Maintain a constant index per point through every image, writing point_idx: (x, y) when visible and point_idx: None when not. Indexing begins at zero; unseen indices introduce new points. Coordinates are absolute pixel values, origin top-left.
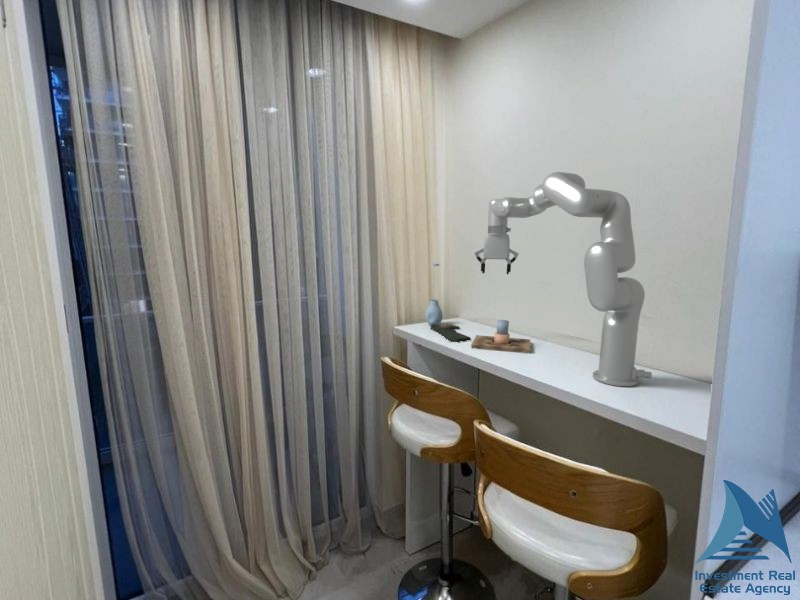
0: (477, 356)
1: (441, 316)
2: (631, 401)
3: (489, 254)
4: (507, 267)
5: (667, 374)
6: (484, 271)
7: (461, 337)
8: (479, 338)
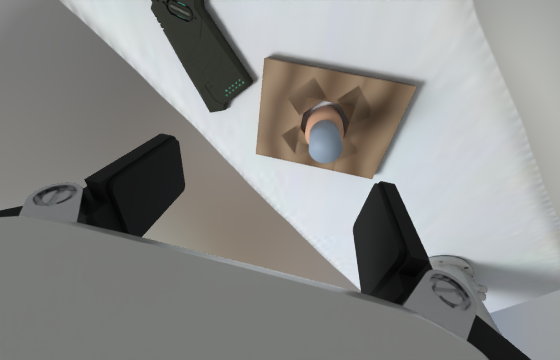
0: (269, 194)
1: None
2: None
3: None
4: (363, 277)
5: (554, 262)
6: (175, 172)
7: (228, 92)
8: (272, 98)
